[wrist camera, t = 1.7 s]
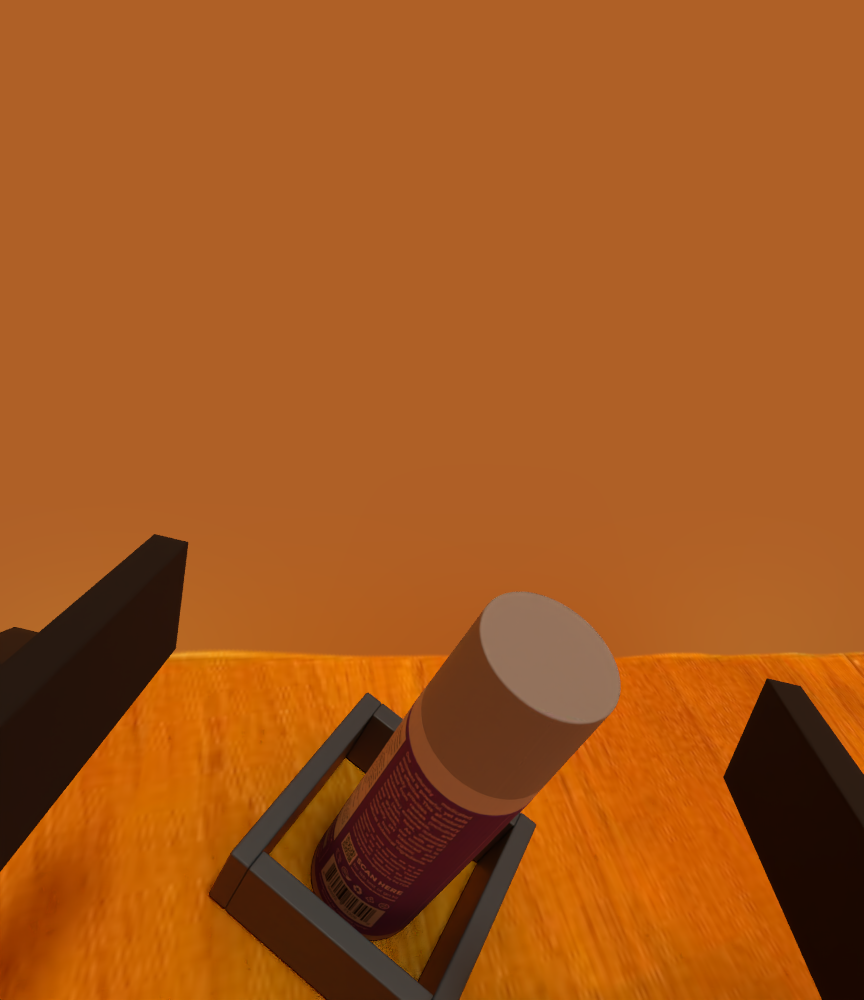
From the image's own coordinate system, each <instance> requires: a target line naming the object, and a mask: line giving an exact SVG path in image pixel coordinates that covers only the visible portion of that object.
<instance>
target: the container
mask: <svg viewBox="0 0 864 1000" xmlns="http://www.w3.org/2000/svg"><path fill="white" fill-rule="evenodd" d="M619 696H620V677H619V672H618V668H617V665H616V663H615V660H614V658H613V656H612V654H611V652H610V650H609V649H608V647H607V645H606V644H605V642H604V641H603V639H602V638H601V637H600V635H599V634H598V633H597V632H596V631H595V630H594V629H593V628H592V627H591V625H590V624H588V623H587V622H586V621H585V620H584V619H583V618H582V617H581V616H579V615H578V614H577V613H575V612H574V611H573V610H571V609H570V608H568V607H566V606H564V605H563V604H561V603H559V602H557V601H555V600H553V599H551V598H548V597H545V596H543V595H539V594H535V593H529V592H511V593H506V594H503V595H500V596H498V597H497V598H495V599H493V600H492V601H491V602H490V603H489V604H488V605H487V606H486V608H485V609H484V610H483V612H482V613H481V614H480V616H479V617H478V618H477V620H476V621H475V622H474V624H473V625H472V626H471V628H470V629H469V630H468V632H467V633H466V634H465V636H464V637H463V638H462V640H461V641H460V642H459V644H458V645H457V646H456V648H455V649H454V650H453V652H452V653H451V654H450V656H449V657H448V659H447V660H446V661H445V663H444V664H443V665H442V667H441V668H440V669H439V671H438V672H437V673H436V675H435V676H434V677H433V679H432V680H431V681H430V683H429V684H428V685H427V687H426V688H425V689H424V691H423V692H422V693H421V695H420V696H419V697H418V699H417V700H416V701H415V703H414V704H413V706H412V707H411V709H410V710H409V712H408V713H407V714H406V716H405V717H404V719H403V720H402V722H401V723H400V725H399V726H398V728H397V729H396V731H395V732H394V734H393V735H392V736H391V738H390V739H389V741H388V742H387V744H386V745H385V747H384V748H383V750H382V751H381V753H380V754H379V755H378V757H377V758H376V760H375V761H374V763H373V764H372V766H371V767H370V769H369V770H368V772H367V773H366V774H365V776H364V777H363V779H362V780H361V782H360V783H359V785H358V786H357V788H356V789H355V791H354V792H353V793H352V795H351V796H350V798H349V799H348V801H347V802H346V804H345V805H344V807H343V808H342V810H341V811H340V812H339V814H338V815H337V817H336V818H335V820H334V821H333V823H332V824H331V826H330V827H329V829H328V830H327V831H326V833H325V834H324V836H323V838H322V839H321V841H320V843H319V844H318V846H317V849H316V851H315V854H314V857H313V861H312V871H311V876H312V885H313V890H314V893H315V895H316V896H317V897H318V898H320V899H321V900H322V901H323V902H324V903H326V904H327V905H328V906H329V907H330V908H331V909H333V910H334V911H335V912H336V913H337V914H338V915H340V916H341V917H342V918H343V919H344V920H345V921H347V922H348V923H349V924H350V925H351V926H352V927H354V928H355V929H356V930H357V931H358V932H360V933H361V934H362V935H363V936H364V937H365V938H367V939H368V940H381V939H385V938H388V937H390V936H393V935H395V934H396V933H398V932H399V931H401V930H402V929H403V928H404V927H405V926H406V925H408V924H409V923H410V922H411V921H412V920H413V919H414V918H415V917H416V916H417V915H418V914H419V913H420V912H421V911H422V910H423V909H424V908H425V907H426V906H427V905H428V904H429V903H430V902H431V901H432V900H433V899H434V898H435V897H436V896H437V895H438V894H439V893H440V892H441V891H442V890H443V889H444V888H445V887H446V886H447V885H448V884H449V883H450V882H451V881H452V880H453V879H454V878H455V877H456V876H457V875H458V874H459V873H460V872H461V871H462V870H463V869H464V868H465V867H466V866H467V865H468V864H469V863H470V862H471V861H472V860H473V859H474V858H475V857H476V856H477V855H478V854H479V853H480V852H481V851H482V850H483V849H484V848H485V847H486V846H487V845H488V844H489V843H490V842H491V841H492V840H493V839H494V838H495V837H496V836H497V835H498V834H499V833H500V832H501V831H502V830H503V829H504V828H505V827H506V826H507V825H508V824H509V823H510V822H511V821H512V820H513V819H514V818H515V817H516V816H517V815H518V814H519V813H520V812H521V811H522V810H523V809H524V808H525V807H526V806H527V805H528V804H529V802H530V801H531V800H532V799H533V798H534V797H535V795H536V794H537V793H538V792H539V791H540V790H541V789H542V788H543V787H544V786H545V785H546V783H547V782H548V781H549V780H550V779H551V778H552V777H553V776H554V775H555V774H556V772H557V771H558V770H559V769H560V768H561V767H562V766H563V765H564V764H565V763H566V762H567V760H568V759H569V758H570V757H571V756H572V755H573V754H574V753H575V752H576V751H577V750H578V748H579V747H580V746H581V745H582V744H583V743H584V742H585V741H586V740H587V739H588V737H589V736H590V735H591V734H592V733H593V732H594V731H595V730H596V729H597V728H598V727H599V725H600V724H601V723H602V722H603V721H604V720H605V719H606V718H607V717H608V716H609V714H610V713H611V712H612V711H613V710H614V708H615V707H616V705H617V703H618V700H619Z"/></svg>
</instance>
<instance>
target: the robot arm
mask: <svg viewBox="0 0 864 1000" xmlns="http://www.w3.org/2000/svg"><path fill="white" fill-rule="evenodd" d="M187 549H188V542H185V541H181V540H177V539H173V538H168V537H164V536H160V535H156V534H154V535H153V536H152V537H151V538H150V539H148V540H147V541H146V542H145V543H144V544H142V545H141V546H140V547H139V548H138V549H136V550H135V551H134V552H133V553H132V554H131V555H129V556H128V557H127V558H126V559H125V560H124V561H122V562H121V563H120V564H119V565H118V566H116V567H115V568H114V569H113V570H112V571H111V572H109V573H108V574H107V575H106V576H105V577H104V578H102V579H101V580H100V581H99V582H98V583H96V584H95V585H94V586H93V587H92V588H91V589H90V590H88V591H87V592H86V593H85V594H84V595H82V596H81V597H80V598H79V599H78V600H76V601H75V602H74V603H73V604H72V605H71V606H69V607H68V608H67V609H66V610H65V611H64V612H62V613H61V614H60V615H59V616H58V617H56V618H55V619H54V620H53V621H52V622H51V623H49V624H48V625H47V626H46V627H45V628H44V629H42V630H41V631H40V632H34V631H30V630H26V629H22V628H17V627H13V628H11V629H8V630H5V631H3V632H1V633H0V871H1V870H2V869H3V868H4V866H5V865H6V864H7V862H8V861H9V860H10V859H11V857H12V856H13V855H14V854H15V852H16V851H17V850H18V848H19V847H20V846H21V845H22V843H23V842H24V841H25V840H26V838H27V837H28V836H29V834H30V833H31V832H32V831H33V829H34V828H35V827H36V826H37V824H38V823H39V822H40V820H41V819H42V818H43V817H44V815H45V814H46V813H47V812H48V810H49V809H50V808H51V807H52V805H53V804H54V803H55V801H56V800H57V799H58V798H59V796H60V795H61V794H62V793H63V791H64V790H65V789H66V787H67V786H68V785H69V784H70V782H71V781H72V780H73V779H74V777H75V776H76V775H77V773H78V772H79V771H80V770H81V768H82V767H83V766H84V765H85V763H86V762H87V761H88V759H89V758H90V757H91V756H92V754H93V753H94V752H95V751H96V749H97V748H98V747H99V745H100V744H101V743H102V742H103V740H104V739H105V738H106V737H107V735H108V734H109V733H110V731H111V730H112V729H113V728H114V726H115V725H116V724H117V723H118V721H119V720H120V719H121V717H122V716H123V715H124V714H125V712H126V711H127V710H128V709H129V707H130V706H131V705H132V703H133V702H134V701H135V700H136V698H137V697H138V696H139V695H140V693H141V692H142V691H143V689H144V688H145V687H146V686H147V684H148V683H149V682H150V681H151V679H152V678H153V677H154V675H155V674H156V673H157V672H158V670H159V669H160V668H161V667H162V665H163V664H164V663H165V662H166V660H167V659H168V658H169V656H170V655H171V654H172V653H173V651H174V650H175V649H176V641H177V633H178V625H179V616H180V607H181V600H182V591H183V583H184V574H185V566H186V557H187ZM723 778H724V780H725V782H726V784H727V787H728V789H729V791H730V793H731V796H732V798H733V800H734V802H735V805H736V807H737V809H738V811H739V814H740V816H741V818H742V820H743V823H744V825H745V827H746V829H747V832H748V834H749V836H750V838H751V841H752V843H753V845H754V847H755V850H756V852H757V854H758V856H759V859H760V861H761V863H762V865H763V868H764V870H765V872H766V874H767V877H768V879H769V881H770V883H771V886H772V888H773V890H774V892H775V895H776V897H777V899H778V901H779V904H780V906H781V908H782V910H783V913H784V915H785V917H786V920H787V922H788V924H789V926H790V929H791V931H792V933H793V935H794V938H795V940H796V942H797V944H798V947H799V949H800V951H801V953H802V956H803V958H804V960H805V962H806V965H807V967H808V969H809V971H810V974H811V976H812V978H813V980H814V983H815V985H816V987H817V989H818V992H819V994H820V996H821V998H822V1000H864V774H863V773H862V772H861V770H860V769H859V767H858V766H857V765H856V763H855V762H854V760H853V759H852V758H851V756H850V755H849V753H848V752H847V751H846V749H845V748H844V746H843V745H842V744H841V742H840V741H839V739H838V738H837V737H836V735H835V734H834V732H833V731H832V730H831V728H830V727H829V725H828V724H827V723H826V721H825V720H824V718H823V717H822V716H821V714H820V713H819V711H818V710H817V709H816V707H815V706H814V704H813V703H812V702H811V700H810V699H809V697H808V696H807V694H806V693H805V692H804V690H803V689H802V687H801V686H797V685H793V684H789V683H784V682H780V681H776V680H772V679H766V682H765V684H764V686H763V688H762V691H761V693H760V695H759V698H758V700H757V702H756V704H755V707H754V709H753V711H752V713H751V716H750V718H749V720H748V722H747V725H746V727H745V729H744V732H743V734H742V736H741V738H740V741H739V743H738V745H737V747H736V750H735V752H734V754H733V756H732V759H731V761H730V763H729V766H728V768H727V770H726V772H725V775H724V777H723Z"/></svg>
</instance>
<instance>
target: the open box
mask: <svg viewBox="0 0 864 1000" xmlns="http://www.w3.org/2000/svg"><path fill="white" fill-rule="evenodd" d="M402 720H403V719H402V718H401V717H399V716H398V715H397V714H395V713H394V712H393V711H392V710H390V709H389V708H388V707H387V706H385V705H384V704H381V702H380V701H378V700H377V699H376V698H375V697H373V696H372V695H371V694H369V693H366V694H365V695H364V697H363V698H362V699H361V700H360V701H359V702H358V704H357V705H356V706H355V707H354V708H353V709H352V711H351V712H350V713H349V714H348V715H347V717H346V718H345V719H344V720H343V721H342V722H341V724H340V725H339V726H338V727H337V728H336V729H335V731H334V732H333V733H332V734H331V735H330V737H329V738H328V739H327V740H326V741H325V742H324V744H323V745H322V746H321V747H320V748H319V749H318V751H317V752H316V753H315V754H314V755H313V757H312V758H311V759H310V760H309V761H308V762H307V764H306V765H305V766H304V767H303V768H302V769H301V771H300V772H299V773H298V774H297V775H296V777H295V778H294V779H293V780H292V781H291V782H290V784H289V785H288V786H287V787H286V788H285V789H284V791H283V792H282V793H281V794H280V795H279V797H278V798H277V799H276V800H275V801H274V802H273V804H272V805H271V806H270V807H269V808H268V809H267V811H266V812H265V813H264V814H263V815H262V816H261V818H260V819H259V820H258V821H257V822H256V824H255V825H254V826H253V827H252V828H251V829H250V831H249V832H248V833H247V834H246V835H245V836H244V838H243V839H242V840H241V841H240V842H239V844H238V845H237V846H236V847H235V848H234V849H233V851H232V852H231V853H230V855H229V857H228V859H227V861H226V863H225V865H224V866H223V868H222V870H221V872H220V874H219V876H218V878H217V880H216V881H215V883H214V885H213V887H212V889H211V891H210V893H209V895H210V896H211V897H212V898H213V899H214V900H215V901H216V902H218V903H219V904H220V905H221V906H222V907H223V908H225V907H226V911H227V912H229V913H230V914H231V915H232V916H233V917H234V918H235V919H237V920H238V921H239V922H240V923H241V924H242V925H243V926H245V927H246V928H247V929H248V930H249V931H250V932H251V933H252V934H254V935H255V936H256V937H257V938H258V939H259V940H260V941H262V942H263V943H264V944H265V945H266V946H267V947H268V948H270V949H271V950H272V951H273V952H274V953H275V954H276V955H277V956H279V957H280V958H281V959H282V960H283V961H284V962H285V963H287V964H288V965H289V966H290V967H291V968H292V969H293V970H295V971H296V972H297V973H298V974H299V975H300V976H301V977H302V978H304V979H305V980H306V981H307V982H308V983H309V984H310V985H312V986H313V987H314V988H315V989H316V990H317V991H318V992H320V993H321V994H322V995H323V996H324V997H325V998H326V999H327V1000H459V999H460V997H461V994H462V992H463V990H464V988H465V985H466V983H467V981H468V979H469V976H470V974H471V972H472V969H473V967H474V965H475V963H476V960H477V958H478V956H479V954H480V951H481V949H482V947H483V945H484V942H485V940H486V938H487V936H488V933H489V931H490V929H491V927H492V924H493V922H494V920H495V918H496V915H497V913H498V911H499V909H500V906H501V904H502V902H503V899H504V897H505V895H506V893H507V890H508V888H509V886H510V884H511V881H512V879H513V877H514V875H515V872H516V870H517V868H518V866H519V863H520V861H521V859H522V857H523V854H524V852H525V850H526V848H527V845H528V843H529V841H530V838H531V836H532V834H533V832H534V829H535V827H536V824H535V823H534V822H533V821H531V820H530V819H529V818H528V817H526V816H525V815H524V814H522V813H521V814H520V813H519V814H518V815H517V816H516V817H515V818H514V819H513V820H512V821H511V822H510V823H509V824H508V825H507V826H506V827H505V828H504V829H503V830H502V831H501V832H500V833H499V834H498V835H497V836H496V837H495V838H494V839H493V840H492V841H491V842H490V843H489V844H488V845H487V846H486V847H485V848H484V849H483V850H482V851H481V852H480V853H479V854H478V855H477V856H476V857H475V858H474V859H473V860H475V861H476V862H478V863H477V865H476V867H475V869H474V871H473V873H472V875H471V877H470V879H469V881H468V883H467V885H466V887H465V889H464V891H463V893H462V895H461V897H460V899H459V901H458V903H457V905H456V907H455V909H454V911H453V913H452V915H451V917H450V919H449V921H448V923H447V925H446V927H445V929H444V931H443V933H442V935H441V937H440V939H439V941H438V943H437V945H436V947H435V949H434V951H433V953H432V955H431V957H430V959H429V961H428V963H427V965H426V967H425V969H424V971H423V973H422V975H421V977H420V979H419V981H418V982H417V981H416V980H415V979H413V978H412V977H411V976H410V975H409V974H408V973H406V972H405V971H404V970H403V969H402V968H401V967H399V966H398V965H397V964H396V963H395V962H394V961H392V960H391V959H390V958H389V957H388V956H386V955H385V954H384V953H383V952H382V951H381V950H379V949H378V948H377V947H376V946H375V945H374V944H372V943H371V942H370V941H369V940H368V939H367V938H365V937H364V936H363V935H362V934H361V933H360V932H358V931H357V930H356V929H355V928H354V927H352V926H351V925H350V924H349V923H348V922H347V921H345V920H344V919H343V918H342V917H341V916H340V915H338V914H337V913H336V912H335V911H334V910H333V909H331V908H330V907H329V906H328V905H327V904H326V903H324V902H323V901H322V900H321V899H320V898H318V897H317V896H316V895H315V894H314V893H313V892H311V891H310V890H309V889H308V888H307V887H306V886H304V885H303V884H302V883H301V882H300V881H299V880H297V879H296V878H295V877H294V876H293V875H292V874H290V873H289V872H288V871H287V870H286V869H284V868H283V867H282V866H281V865H280V864H279V863H277V862H276V861H275V860H274V859H273V858H272V857H270V856H269V855H268V854H269V853H270V852H271V850H272V849H273V848H274V847H275V845H276V844H277V843H278V842H279V840H280V839H281V838H282V837H283V835H284V834H285V833H286V832H287V830H288V829H289V828H290V827H291V825H292V824H293V823H294V822H295V820H296V819H297V818H298V816H299V815H300V814H301V813H302V811H303V810H304V809H305V808H306V806H307V805H308V804H309V803H310V801H311V800H312V799H313V798H314V796H315V795H316V794H317V793H318V791H319V790H320V789H321V788H322V786H323V785H324V784H325V783H326V781H327V780H328V779H329V778H330V776H331V775H332V774H333V773H334V771H335V770H336V769H337V768H338V766H339V765H340V764H341V762H342V761H343V760H344V759H345V757H346V756H347V758H348V759H349V760H351V761H352V762H353V763H354V764H356V765H357V766H358V767H359V768H361V769H362V770H363V771H364V772H365V773H367V772H368V770H369V769H370V767H371V766H372V764H373V763H374V761H375V760H376V758H377V757H378V755H379V754H380V753H381V751H382V750H383V748H384V747H385V745H386V744H387V742H388V741H389V739H390V738H391V736H392V735H393V734H394V732H395V731H396V729H397V728H398V726H399V725H400V723H401V722H402Z"/></svg>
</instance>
